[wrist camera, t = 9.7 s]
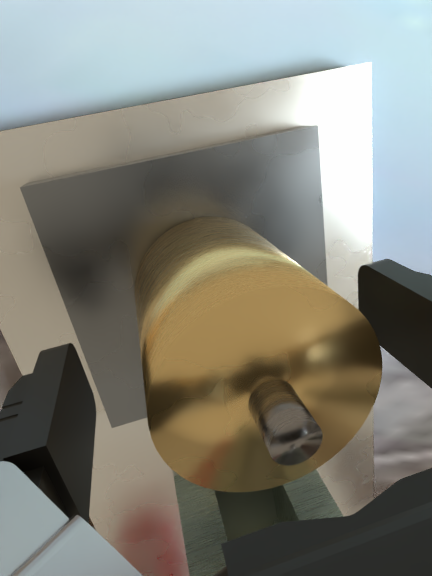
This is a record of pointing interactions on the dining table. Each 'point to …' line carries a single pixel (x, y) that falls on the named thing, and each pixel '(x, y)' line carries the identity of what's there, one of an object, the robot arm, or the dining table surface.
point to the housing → (247, 359)
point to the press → (133, 246)
